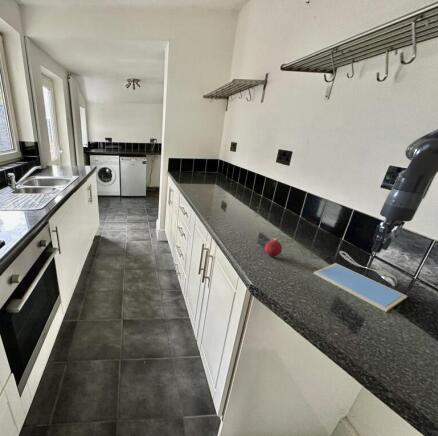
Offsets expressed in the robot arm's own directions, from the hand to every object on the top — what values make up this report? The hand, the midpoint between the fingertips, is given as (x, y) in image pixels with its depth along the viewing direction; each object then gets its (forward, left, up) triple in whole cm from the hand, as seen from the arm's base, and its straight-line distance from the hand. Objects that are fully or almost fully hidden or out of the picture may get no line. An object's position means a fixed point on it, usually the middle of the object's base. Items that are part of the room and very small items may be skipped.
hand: (379, 249), depth 80 cm
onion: (+24, -22, -10) cm, 34 cm away
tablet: (+13, +2, -9) cm, 16 cm away
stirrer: (-1, -2, -10) cm, 10 cm away
